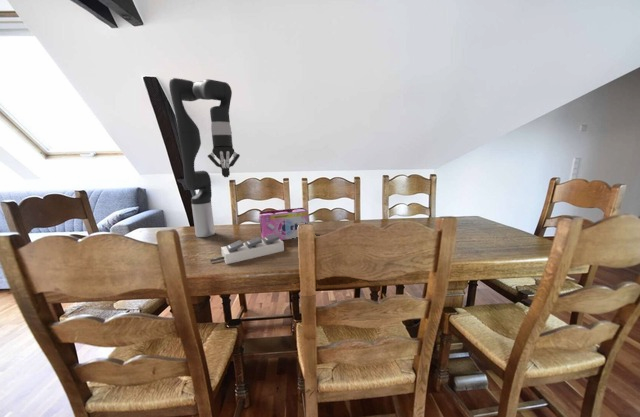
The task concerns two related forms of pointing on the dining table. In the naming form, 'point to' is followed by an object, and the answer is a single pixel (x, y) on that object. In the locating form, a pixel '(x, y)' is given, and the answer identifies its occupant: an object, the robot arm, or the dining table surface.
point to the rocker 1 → (234, 246)
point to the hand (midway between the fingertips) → (226, 177)
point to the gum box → (282, 222)
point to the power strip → (250, 251)
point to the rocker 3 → (270, 238)
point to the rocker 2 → (253, 242)
